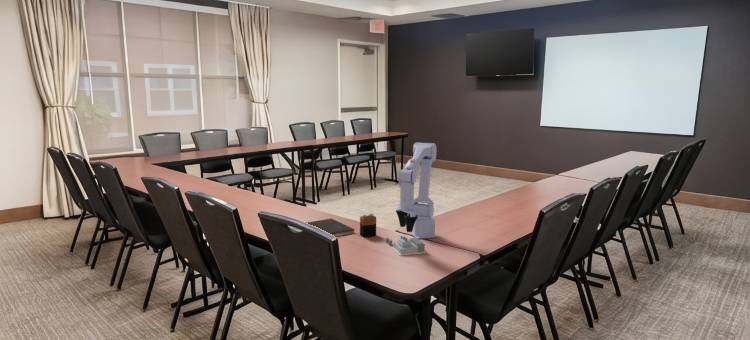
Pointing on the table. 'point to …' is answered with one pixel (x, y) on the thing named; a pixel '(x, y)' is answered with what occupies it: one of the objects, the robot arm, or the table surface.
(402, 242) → the plug
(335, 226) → the hardcover book
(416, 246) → the port
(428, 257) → the table surface
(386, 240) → the holster
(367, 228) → the battery
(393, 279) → the table surface
